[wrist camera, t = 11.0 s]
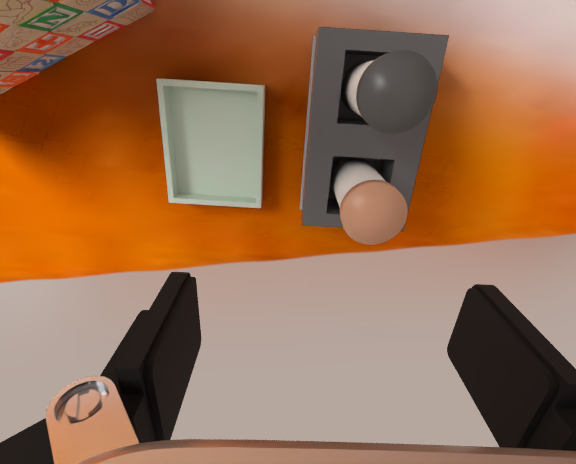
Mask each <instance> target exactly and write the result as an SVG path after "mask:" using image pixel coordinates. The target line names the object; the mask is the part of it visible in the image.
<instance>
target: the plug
mask: <svg viewBox="0 0 576 464" xmlns="http://www.w3.org/2000/svg"><path fill="white" fill-rule="evenodd" d="M330 181H331V184H332V187H333V190H334V193H335V196H336V199H337V202H338V205H339V207H340V219H341V222H342V225H343V228H344V230H345V232H346V233H347V234H348V236H349V237H350V238H352V239H353V240H355V241H357V242H359V243H362V244H367V245H375V244H381V243H384V242H386V241H388V240H390V239H392V238H393V237H395V236H396V235H397V234H398V233H399V232H400V231H401V229H402V228H403V226H404V224H405V222H406V219H407V215H408V209H407V203H406V201H405V199H404V197H403V195H402V194H401V193H400V192H399V191H398V190H397V189H396V188H395V187H394V186H393V185H391V184H390V183H388V182H386V181H385V180H384V179H383V178H382V176H381V175H380V174H379V173H378V172H377V171H376V170H375V169H374V167H373V166H372V165H371V164H370V163H369V162H368V161H367V160H366V159H365V158H357V157H341V158H339V159H338V160H337V161H336V162H335V163H334V165H333V166H332V169H331V178H330Z"/></svg>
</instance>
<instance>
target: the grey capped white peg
mask: <svg viewBox="0 0 576 464" xmlns="http://www.w3.org/2000/svg"><path fill="white" fill-rule="evenodd" d="M436 95H437V77H436V74H435V71H434V69H433V67H432V65H431V64H430V62H429V61H428V60H427V59H426V58H425V57H424V56H422V55H421V54H419V53H417V52H413V51H409V50H399V51H394V52H390V53H387V54H384V55H382V56H380V57H378V58H377V59H375V60H372V61H367V62H363V63H359V64H357V65H355V66H353V67H352V68H351V69H350V70H349V71H348V72H347V73H346V74H345V76H344V78H343V80H342V84H341V97H342V100H343V102H344V104H345V105H346V107H347V108H348V109H350V110H351V111H353V112H355V113H356V114H358V115H360V116H361V117H362V118H363V119H364V120H365V121H366V122H367V123H368V124H369V125H370V126H372V127H373V128H375V129H377V130H379V131H381V132H384V133H390V134H396V133H402V132H405V131H408V130H410V129H412V128H414V127H415V126H417V125H418V124H419V123H421V122H422V121H423V120H424V119H425V117H426V116H427V115H428V114H429V112H430V110H431V109H432V107H433V105H434V102H435V99H436Z"/></svg>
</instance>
